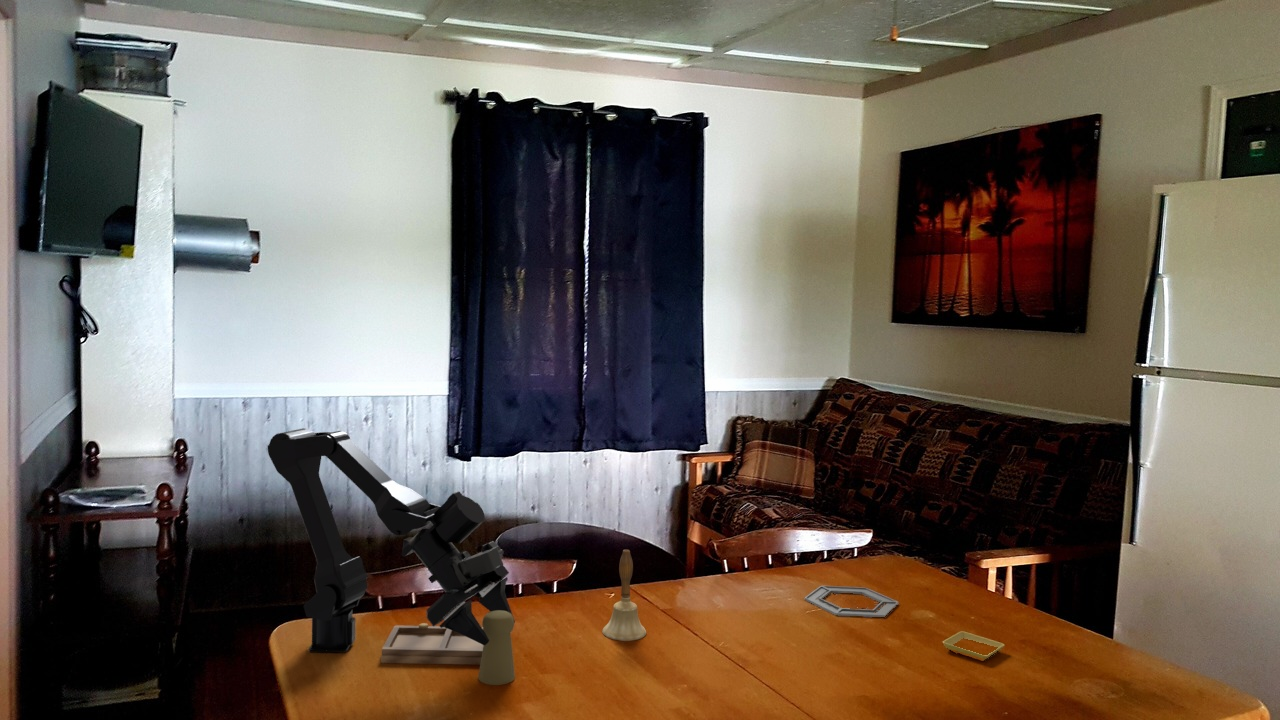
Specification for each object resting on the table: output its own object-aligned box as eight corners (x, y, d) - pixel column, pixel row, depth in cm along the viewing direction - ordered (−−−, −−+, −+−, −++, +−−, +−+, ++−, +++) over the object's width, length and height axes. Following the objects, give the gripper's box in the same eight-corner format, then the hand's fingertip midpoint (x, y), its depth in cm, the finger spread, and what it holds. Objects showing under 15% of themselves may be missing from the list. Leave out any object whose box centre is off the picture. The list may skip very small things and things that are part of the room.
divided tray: (380, 662, 161) (381, 647, 161) (395, 636, 173) (395, 622, 173) (499, 664, 162) (499, 650, 162) (505, 638, 174) (505, 624, 174)
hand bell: (628, 644, 174) (631, 559, 172) (593, 633, 179) (596, 550, 177) (655, 632, 180) (658, 550, 179) (620, 621, 185) (624, 541, 184)
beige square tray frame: (1005, 654, 178) (1006, 643, 177) (985, 667, 171) (986, 655, 171) (961, 641, 184) (961, 630, 183) (940, 652, 177) (941, 641, 177)
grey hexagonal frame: (909, 620, 193) (909, 616, 193) (810, 616, 194) (811, 611, 194) (888, 592, 211) (888, 588, 211) (798, 588, 211) (798, 584, 211)
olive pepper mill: (507, 687, 154) (509, 621, 153) (472, 682, 155) (474, 616, 154) (520, 672, 160) (522, 608, 159) (485, 667, 161) (487, 604, 160)
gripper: (444, 544, 148) (506, 624, 145) (499, 517, 166) (556, 588, 163) (400, 586, 151) (460, 665, 149) (459, 556, 169) (513, 625, 166)
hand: (500, 633), depth 157 cm, fingers open, 9 cm apart
